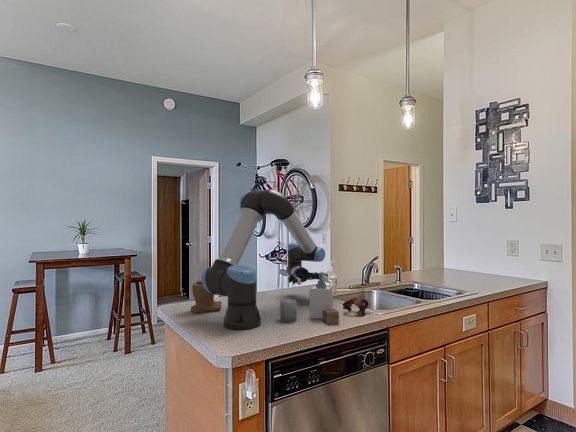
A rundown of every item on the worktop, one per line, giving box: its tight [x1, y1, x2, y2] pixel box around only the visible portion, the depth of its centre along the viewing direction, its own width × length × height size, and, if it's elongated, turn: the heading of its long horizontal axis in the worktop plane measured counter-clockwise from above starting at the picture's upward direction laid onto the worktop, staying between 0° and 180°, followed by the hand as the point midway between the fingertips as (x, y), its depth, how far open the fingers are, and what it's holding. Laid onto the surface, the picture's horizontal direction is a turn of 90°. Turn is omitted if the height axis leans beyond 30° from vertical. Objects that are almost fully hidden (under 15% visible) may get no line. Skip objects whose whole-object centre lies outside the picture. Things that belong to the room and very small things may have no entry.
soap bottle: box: [309, 271, 334, 320], centre depth 157 cm, size 9×9×19 cm
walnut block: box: [322, 308, 340, 326], centre depth 147 cm, size 5×5×5 cm
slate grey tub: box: [279, 298, 298, 323], centre depth 152 cm, size 7×7×8 cm
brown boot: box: [190, 279, 223, 313], centre depth 169 cm, size 15×12×15 cm
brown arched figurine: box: [341, 297, 369, 317], centre depth 161 cm, size 12×10×8 cm
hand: (314, 281), depth 166 cm, fingers open, 13 cm apart
